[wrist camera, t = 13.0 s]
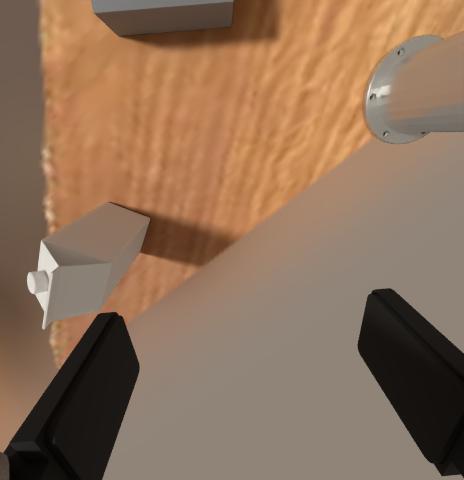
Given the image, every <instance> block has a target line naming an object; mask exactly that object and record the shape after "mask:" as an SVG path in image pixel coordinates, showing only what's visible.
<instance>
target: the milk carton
mask: <svg viewBox="0 0 464 480" xmlns="http://www.w3.org/2000/svg"><path fill="white" fill-rule="evenodd" d="M149 222H150V218H149V217H146V216H144V215H141V214H138V213H136V212H133V211H130V210H128V209H125V208H122V207H120V206H117V205H114V204H112V203H109V202H106V203H104V204H102V205H101V206H99V207H97V208H95V209H94V210H92V211H90V212H89V213H87V214H85V215H84V216H82V217H80V218H78V219H77V220H75V221H73V222H72V223H70V224H68V225H66V226H65V227H63V228H61V229H60V230H58V231H56V232H55V233H53V234H51V235H49V236H48V237H46V238H45V239H43V240H42V241H41V248H40V255H39V264H38V271H36V272H30V273H29V274H28V277H27V284H28V288H29V290H30V292H31V293H32V294H35V295H36V297H37V298H38V300H39V302H40V304H41V306H42V308H43V310H44V311H45V312H44V319H43V326H42V328H43V329H45V328H46V326H48V325H49V323H50V322H51V321H56V320H60V319H65V318H70V317H75V316H79V315H84V314H89V313H93V312H98V311H99V310H100V309H101V308H102V306H103V305H104V303H105V302H106V300H107V299H108V297H109V296H110V295H111V293H112V292H113V290H114V289H115V287H116V286H117V285H118V283H119V282H120V280H121V279H122V277H123V276H124V274H125V273H126V272H127V270H128V269H129V267H130V266H131V264H132V263H133V262H134V260H135V259H136V257H137V256H138V254H139V253H140V250H141V247H142V244H143V241H144V238H145V235H146V231H147V228H148V225H149Z"/></svg>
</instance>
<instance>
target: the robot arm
mask: <svg viewBox="0 0 464 480" xmlns="http://www.w3.org/2000/svg"><path fill="white" fill-rule="evenodd" d="M370 97H371V99H370ZM363 113H364V119H365V122H366V125H367V127H368V129H369V130H370V132H371V133H372V134H373V135H374V136H375V137H376V138H377V139H379V140H381V141H383V142H387V143H391V144H404V143H409V142H413V141H416V140H418V139H420V138H422V137H424V136H425V135H426V134H428V133H430V132H464V31H462V32H460V33H457V34H455V35H453V36H450V37H448V38H446V39H444V38H441V37H438V36H435V35H422V36H417V37H414V38H412V39H409V40H407V41H405V42H403V43H401V44H399V45H398V46H396V47H395V48H394V49H392V50H391V51H390V52H388V53H387V54H386V55H385V57H384V58H383V59H382V60H381V61H380V62H379V63H378V65H377V66H376V68H375V69H374V71H373V73H372V75H371V77H370V79H369V81H368V83H367V86H366V89H365V93H364V99H363ZM383 133H384V134H383ZM358 350H359V353H360V355H361V357H362V358H363V360H364V362H365V363H366V365H367V366H368V368H369V369H370V371H371V373H372V374H373V376H374V377H375V379H376V381H377V382H378V384H379V385H380V387H381V389H382V390H383V392H384V393H385V395H386V396H387V398H388V399H389V401H390V403H391V404H392V406H393V408H394V409H395V411H396V412H397V414H398V416H399V417H400V419H401V420H402V422H403V423H404V425H405V427H406V428H407V430H408V431H409V433H410V435H411V436H412V438H413V439H414V441H415V442H416V444H417V446H418V447H419V449H420V450H421V452H422V454H423V455H424V457H425V458H426V459H427V460H428V461H429V462H430V463H433V464H434V465H435V466H436V468H437V469H438V471H439V473H440V474H441V476H448V475H460V474H461V475H462V476H463V478H464V353H462V352H461V351H460V350H459V349H458V348H457V347H456V346H455V345H453V343H451V342H450V341H449V340H448V339H447V338H446V337H445V336H444V335H442V334H441V333H440V332H439V331H438V330H437V329H436V328H435V327H434V326H433V325H431V324H430V323H429V322H428V321H427V320H426V319H425V318H424V317H423V316H422V315H420V314H419V313H418V312H417V311H416V310H415V309H414V308H413V307H412V306H411V305H409V304H408V303H407V302H406V301H405V300H404V299H403V298H402V297H401V296H400V295H398V294H397V293H396V292H395V291H394V290H392V289H390V288H388V289H376V290H373V291H372V293H371V294H369V295H368V297H367V302H366V307H365V312H364V316H363V321H362V326H361V331H360V335H359V340H358ZM138 374H139V362H138V359H137V356H136V353H135V350H134V348H133V345H132V342H131V339H130V336H129V333H128V331H127V328H126V325H125V322H124V319H123V317H122V316H119V315H118V313H116V312H110V313H100V314H98V315H97V316H96V318H95V319H94V321H93V322H92V324H91V325H90V327H89V328H88V329H87V331H86V332H85V334H84V335H83V337H82V338H81V340H80V341H79V343H78V344H77V345H76V347H75V348H74V350H73V351H72V353H71V354H70V356H69V357H68V359H67V360H66V361H65V363H64V364H63V366H62V367H61V369H60V370H59V372H58V373H57V375H56V376H55V377H54V379H53V380H52V382H51V383H50V385H49V386H48V388H47V389H46V390H45V392H44V393H43V395H42V396H41V398H40V399H39V401H38V402H37V404H36V405H35V406H34V408H33V410H32V411H31V412H30V414H29V415H28V417H27V418H26V420H25V421H24V422H23V424H22V426H21V427H20V428H19V430H18V431H17V433H16V434H15V436H14V437H13V438H12V440H11V441H10V443H9V445H8V447H7V448H6V450H5V451H4V453H2V452H0V480H102V478H103V475H104V472H105V469H106V467H107V463H108V461H109V458H110V455H111V452H112V449H113V446H114V444H115V441H116V438H117V435H118V432H119V429H120V426H121V423H122V420H123V417H124V415H125V412H126V409H127V406H128V403H129V400H130V397H131V395H132V392H133V389H134V385H135V383H136V380H137V377H138Z"/></svg>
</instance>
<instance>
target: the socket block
mask: <svg viewBox="0 0 464 480" xmlns="http://www.w3.org/2000/svg"><path fill="white" fill-rule="evenodd" d="M233 2H234V0H91V3H92V7H93V11H94V14H96V15H97V16H98V17H99V18H100V19H101V20H102V21H103V22H104V23H105V24H106V25H107V26H108V27H109V28H110V29H111V30H112V31H113V32H114V33H116V34H117V35H118V36H126V35H138V34H150V33H162V32H174V31H186V30H198V29H210V28H222V27H231V25H232V14H233Z"/></svg>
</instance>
